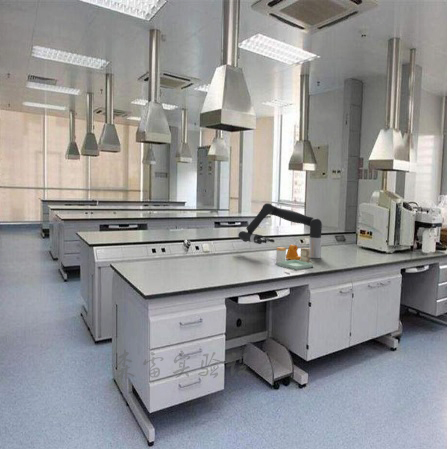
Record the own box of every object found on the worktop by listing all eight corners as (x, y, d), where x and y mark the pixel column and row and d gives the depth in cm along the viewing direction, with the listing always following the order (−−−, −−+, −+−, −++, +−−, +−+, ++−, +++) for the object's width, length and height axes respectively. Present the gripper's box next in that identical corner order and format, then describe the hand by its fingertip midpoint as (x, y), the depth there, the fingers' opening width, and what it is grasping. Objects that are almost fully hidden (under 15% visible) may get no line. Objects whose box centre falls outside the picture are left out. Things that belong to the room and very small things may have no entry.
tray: (294, 263, 286) (294, 259, 286) (312, 267, 272) (313, 263, 271) (278, 265, 275) (278, 261, 275) (296, 270, 261) (296, 266, 261)
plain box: (304, 263, 288) (305, 247, 286) (309, 264, 284) (310, 248, 282) (300, 263, 285) (300, 248, 284) (305, 264, 281) (305, 249, 280)
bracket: (291, 260, 296) (291, 246, 295) (285, 259, 302) (286, 244, 301) (301, 259, 301) (302, 245, 299) (296, 258, 307) (296, 244, 306)
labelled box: (280, 262, 289) (281, 247, 288) (285, 263, 285) (285, 247, 284) (276, 262, 286) (276, 247, 285) (280, 264, 282) (281, 248, 281)
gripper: (250, 234, 302) (263, 237, 289) (263, 234, 311) (276, 236, 298) (250, 243, 303) (263, 246, 290) (262, 242, 311) (276, 245, 298)
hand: (270, 241), depth 294 cm, fingers open, 8 cm apart
